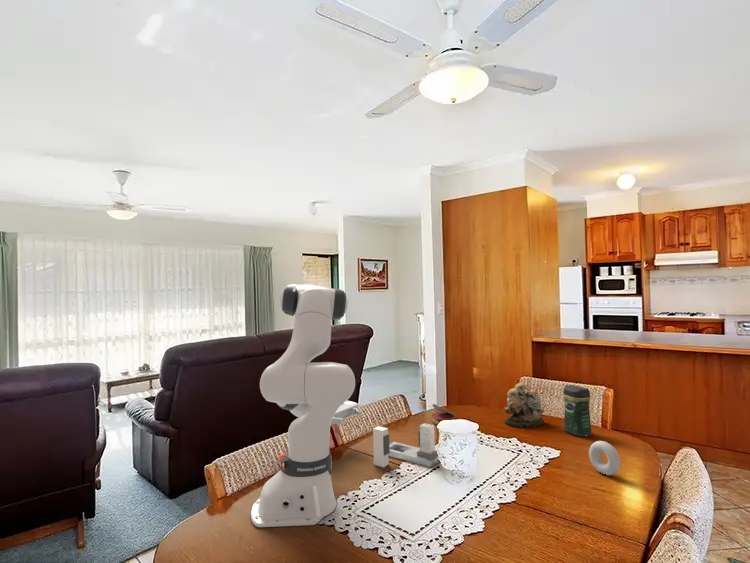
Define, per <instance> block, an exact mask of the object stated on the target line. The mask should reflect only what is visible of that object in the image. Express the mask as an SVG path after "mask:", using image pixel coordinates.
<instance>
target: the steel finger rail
mask: <svg viewBox="0 0 750 563" xmlns="http://www.w3.org/2000/svg"><path fill="white" fill-rule="evenodd" d="M435 438H436V437H435V425H434V424H429V423H425V422H424V423H422V424H420V425H419V430H418V446H419V447H417V446H413V445H408V444H405V443H401V442H396V441H393V442H391V443H389V446H390V453H389V457H390V458H394V459H398V460H401V461H405V462H409V463H413V464H416V465H419V466H422V467H423V466H424V467H428V468H433V467H434V466H436V465H437V464H439V463H440V462H439V459H438V454H437V451H438V450H436V442H435V441H436V440H435Z"/></svg>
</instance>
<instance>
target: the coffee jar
mask: <svg viewBox="0 0 750 563" xmlns="http://www.w3.org/2000/svg"><path fill="white" fill-rule="evenodd" d="M562 390H563V394H562V397H563V401H564V417H563V418H564V419H563V420H564V422H563V429H564V432H566V431H567V432H566V433H568V432H569V433H568V434H570V433H571V434H570V435H572V434H574V435H573V436H575V435H578V436H577V437H584V436H585V435H589V436H591V435H592V424H591V413H590V402H591V401H590V400H591V392H590V389H589V388H586V387H581V386H579V385H575V384H567V385H565V386H564V387H563V389H562ZM590 434H591V435H590Z"/></svg>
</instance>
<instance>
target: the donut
mask: <svg viewBox="0 0 750 563" xmlns="http://www.w3.org/2000/svg"><path fill="white" fill-rule="evenodd" d="M602 453H603V454H604V455H605V456H606V458H607V462H605V461H604V460H603V458H602ZM588 456H589V460H590V463H591V464H592V465H593V467H594V469H596V471H597V472H598V473H600V472H601V474H602V473H603V474H602V475H604V474H606V475H605V476H614V475H615V474H617V473H618V472H619V470H620V468H621V459H620V457H621V456H620V455H619V453H618V451H617V450H616V448H615V447H614V446H612V444H610V443H608V442H607V441H604V440H596V441H595V442H593V443H592V444H591V445H590V447H589V449H588Z"/></svg>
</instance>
